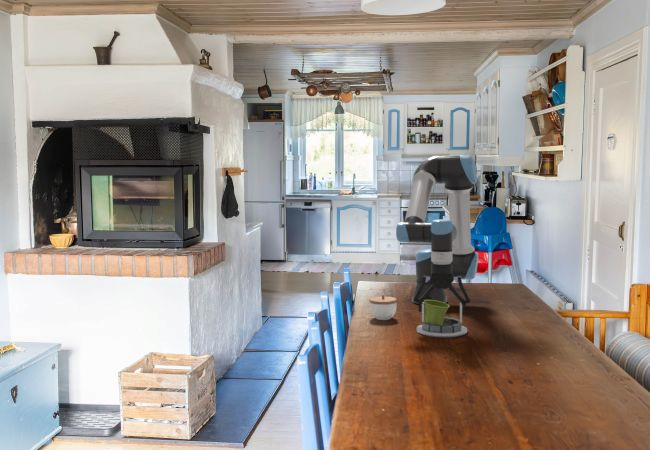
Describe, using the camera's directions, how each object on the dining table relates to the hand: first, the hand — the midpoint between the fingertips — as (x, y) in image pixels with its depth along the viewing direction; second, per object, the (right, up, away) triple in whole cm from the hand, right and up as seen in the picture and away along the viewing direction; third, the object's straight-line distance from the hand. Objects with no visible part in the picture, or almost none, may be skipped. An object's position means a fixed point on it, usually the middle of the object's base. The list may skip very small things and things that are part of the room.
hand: (442, 321), depth 243 cm
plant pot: (-3, -2, +1) cm, 4 cm away
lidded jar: (-19, -2, +22) cm, 30 cm away
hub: (0, -4, 0) cm, 4 cm away
